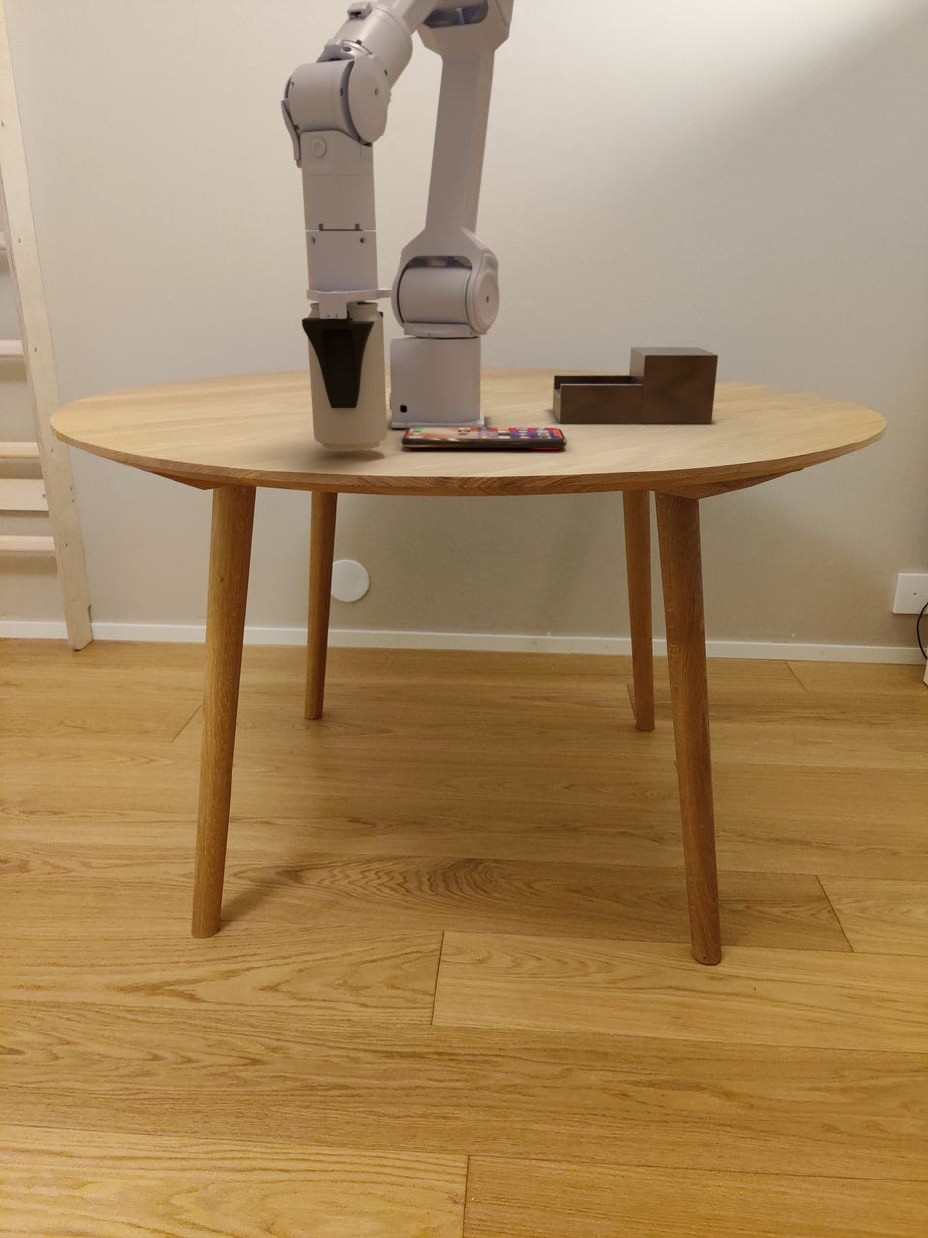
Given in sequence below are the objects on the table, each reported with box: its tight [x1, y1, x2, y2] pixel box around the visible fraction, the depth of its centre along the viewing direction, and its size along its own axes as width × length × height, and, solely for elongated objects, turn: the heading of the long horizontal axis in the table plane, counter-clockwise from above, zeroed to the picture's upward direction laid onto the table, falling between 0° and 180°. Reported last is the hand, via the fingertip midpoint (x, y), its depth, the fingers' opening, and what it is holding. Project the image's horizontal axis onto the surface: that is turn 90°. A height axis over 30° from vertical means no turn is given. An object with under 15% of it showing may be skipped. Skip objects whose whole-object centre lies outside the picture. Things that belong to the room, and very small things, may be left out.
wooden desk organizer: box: [552, 346, 719, 425], centre depth 100 cm, size 16×9×7 cm, turn 90°
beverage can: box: [307, 301, 388, 452], centre depth 79 cm, size 6×6×12 cm
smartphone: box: [401, 426, 567, 450], centre depth 86 cm, size 7×1×15 cm
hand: (348, 401), depth 80 cm, fingers closed on beverage can, 6 cm apart
